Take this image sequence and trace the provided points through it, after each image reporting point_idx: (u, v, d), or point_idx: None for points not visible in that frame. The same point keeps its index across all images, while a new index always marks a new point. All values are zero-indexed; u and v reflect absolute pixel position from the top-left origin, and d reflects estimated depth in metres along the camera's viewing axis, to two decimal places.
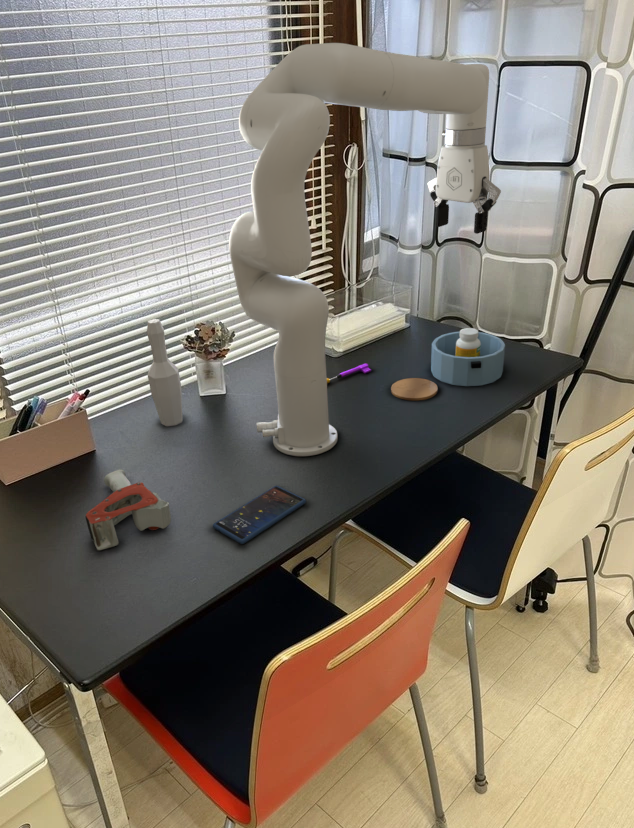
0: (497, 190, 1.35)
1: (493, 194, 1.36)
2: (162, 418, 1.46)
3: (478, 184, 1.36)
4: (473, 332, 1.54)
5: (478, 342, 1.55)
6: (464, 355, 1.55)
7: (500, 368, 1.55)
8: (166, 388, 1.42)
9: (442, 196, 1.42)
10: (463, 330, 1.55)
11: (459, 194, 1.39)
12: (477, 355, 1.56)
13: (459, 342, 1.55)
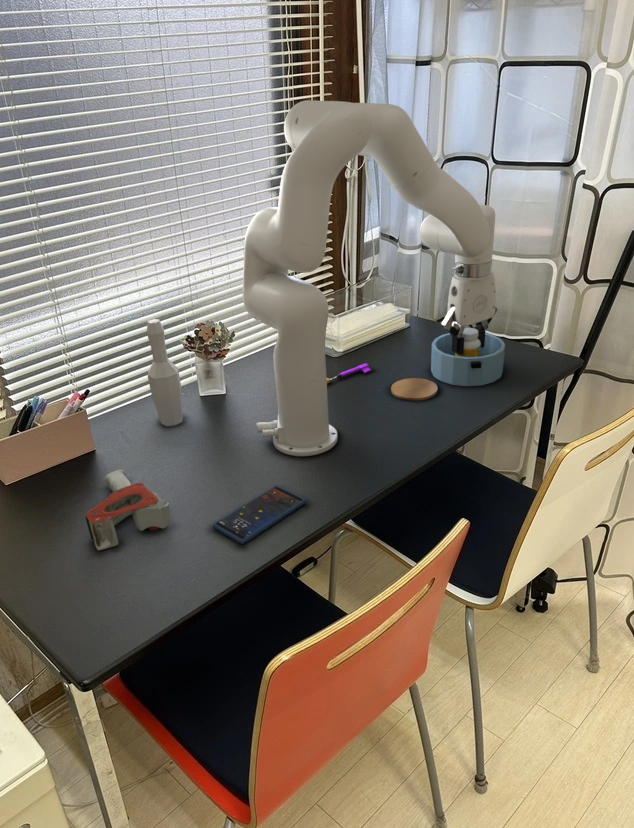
0: None
1: None
2: (162, 418, 1.46)
3: None
4: (473, 332, 1.54)
5: (478, 342, 1.55)
6: (464, 355, 1.55)
7: (500, 368, 1.55)
8: (166, 388, 1.42)
9: (468, 323, 1.50)
10: None
11: (484, 315, 1.51)
12: (477, 355, 1.56)
13: None
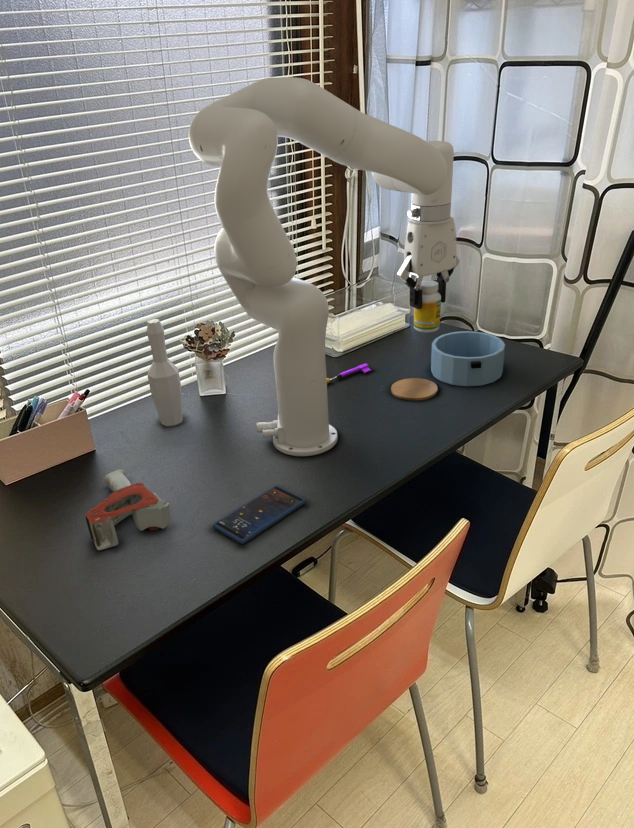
0: None
1: (455, 263, 1.43)
2: (162, 418, 1.46)
3: None
4: (432, 284, 1.42)
5: (438, 295, 1.43)
6: (423, 310, 1.43)
7: (500, 368, 1.55)
8: (166, 388, 1.42)
9: (426, 273, 1.38)
10: (422, 282, 1.43)
11: (443, 264, 1.39)
12: (437, 310, 1.44)
13: None
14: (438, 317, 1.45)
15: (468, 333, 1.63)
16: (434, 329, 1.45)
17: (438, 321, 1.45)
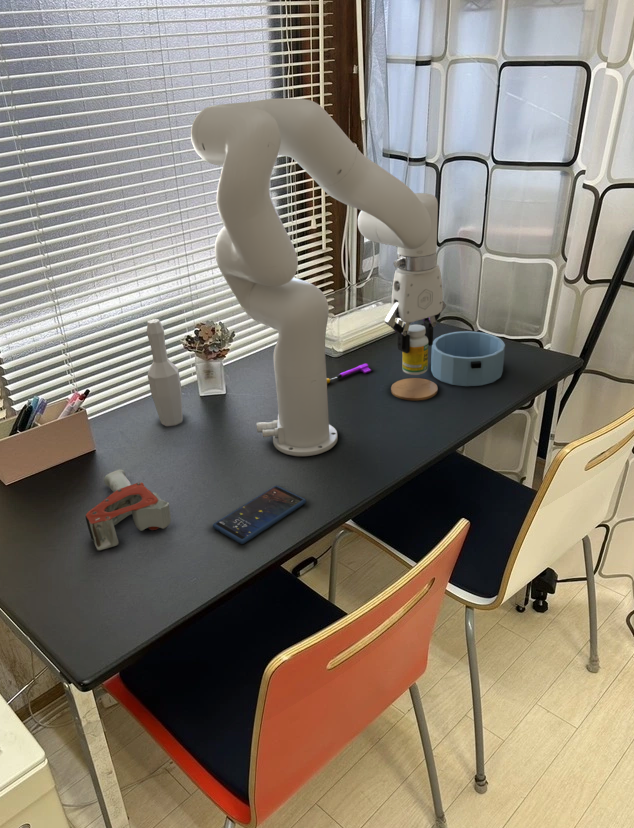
0: None
1: (442, 307, 1.47)
2: (162, 418, 1.46)
3: None
4: (420, 329, 1.45)
5: (425, 340, 1.46)
6: (411, 353, 1.47)
7: (500, 368, 1.55)
8: (166, 388, 1.42)
9: (413, 319, 1.41)
10: (409, 327, 1.47)
11: (430, 311, 1.42)
12: (425, 353, 1.47)
13: None
14: (426, 360, 1.48)
15: (468, 333, 1.63)
16: (422, 372, 1.49)
17: (426, 364, 1.49)
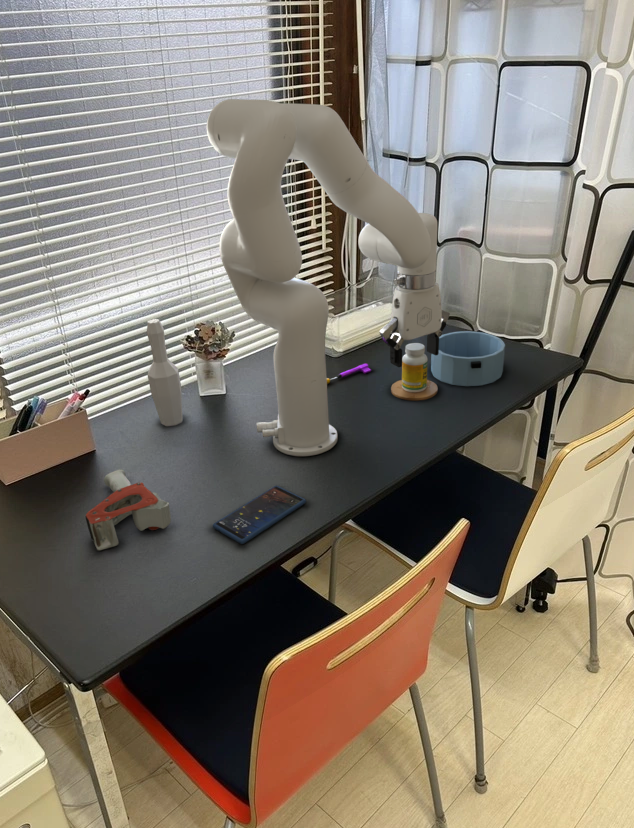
0: (448, 312, 1.48)
1: (446, 316, 1.48)
2: (162, 418, 1.46)
3: None
4: (419, 348, 1.47)
5: (424, 358, 1.48)
6: (410, 371, 1.49)
7: (500, 368, 1.55)
8: (166, 388, 1.42)
9: (412, 336, 1.43)
10: (409, 345, 1.49)
11: (429, 328, 1.44)
12: (424, 371, 1.49)
13: (405, 358, 1.49)
14: (425, 378, 1.50)
15: (468, 333, 1.63)
16: (421, 389, 1.51)
17: (425, 381, 1.51)
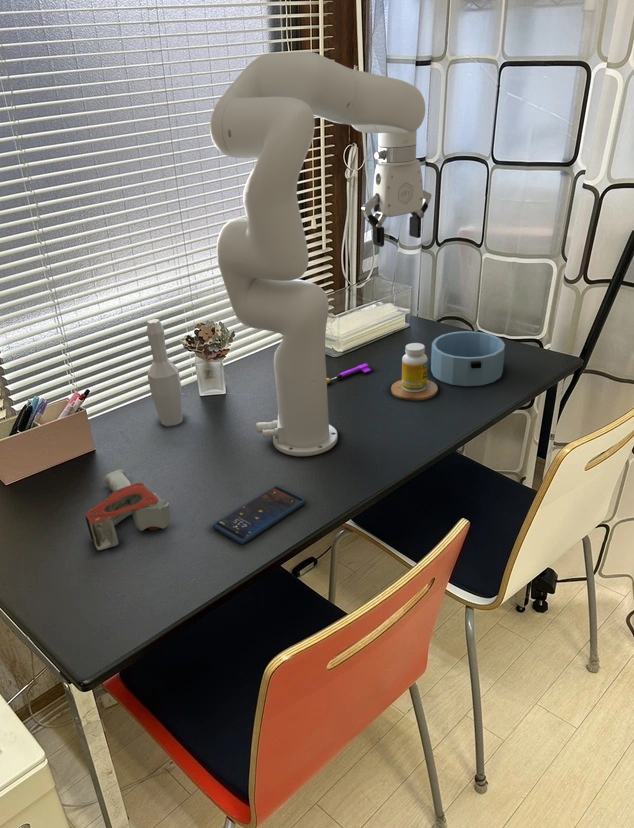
0: None
1: (428, 198, 1.50)
2: (162, 418, 1.46)
3: None
4: (419, 348, 1.47)
5: (424, 358, 1.48)
6: (410, 371, 1.49)
7: (500, 368, 1.55)
8: (166, 388, 1.42)
9: (394, 213, 1.45)
10: (409, 345, 1.49)
11: (410, 206, 1.46)
12: (424, 371, 1.49)
13: (405, 358, 1.49)
14: (425, 378, 1.50)
15: (468, 333, 1.63)
16: (421, 389, 1.51)
17: (425, 381, 1.51)
